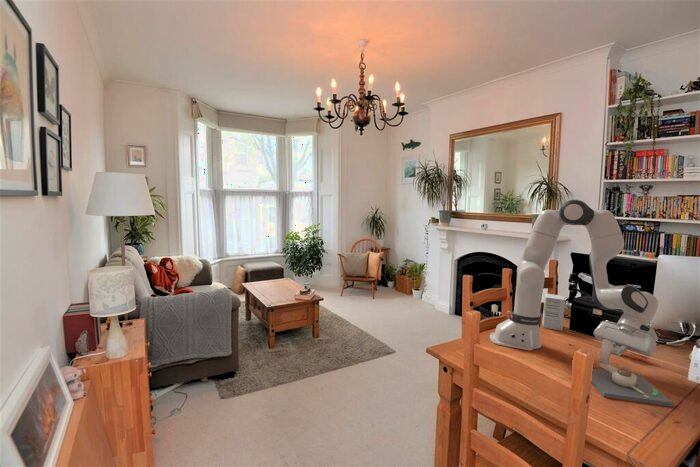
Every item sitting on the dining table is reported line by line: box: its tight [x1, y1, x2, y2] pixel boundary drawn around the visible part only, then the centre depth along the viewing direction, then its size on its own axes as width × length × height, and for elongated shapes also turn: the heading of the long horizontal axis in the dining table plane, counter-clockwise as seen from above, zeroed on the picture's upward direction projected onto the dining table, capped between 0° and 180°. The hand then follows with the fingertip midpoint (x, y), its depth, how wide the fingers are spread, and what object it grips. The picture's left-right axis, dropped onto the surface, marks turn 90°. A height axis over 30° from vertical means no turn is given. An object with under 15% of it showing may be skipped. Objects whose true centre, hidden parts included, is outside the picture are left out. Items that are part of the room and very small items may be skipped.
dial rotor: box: [599, 339, 644, 394], centre depth 132 cm, size 18×7×12 cm, turn 6°
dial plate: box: [591, 368, 674, 408], centre depth 131 cm, size 20×20×2 cm
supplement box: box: [541, 293, 566, 331], centre depth 194 cm, size 10×9×17 cm
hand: (614, 354), depth 142 cm, fingers closed
